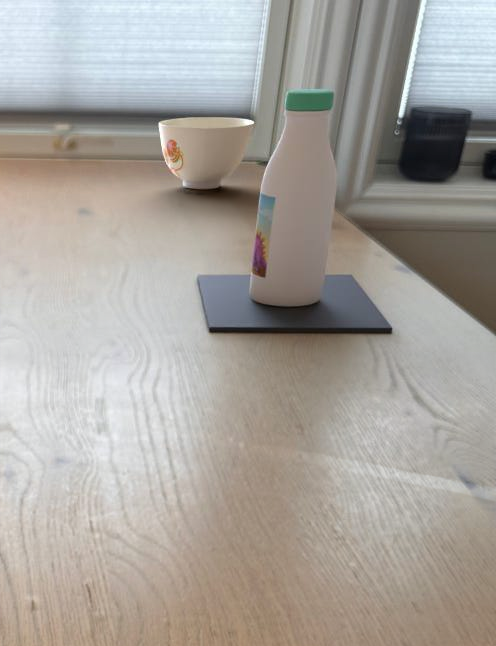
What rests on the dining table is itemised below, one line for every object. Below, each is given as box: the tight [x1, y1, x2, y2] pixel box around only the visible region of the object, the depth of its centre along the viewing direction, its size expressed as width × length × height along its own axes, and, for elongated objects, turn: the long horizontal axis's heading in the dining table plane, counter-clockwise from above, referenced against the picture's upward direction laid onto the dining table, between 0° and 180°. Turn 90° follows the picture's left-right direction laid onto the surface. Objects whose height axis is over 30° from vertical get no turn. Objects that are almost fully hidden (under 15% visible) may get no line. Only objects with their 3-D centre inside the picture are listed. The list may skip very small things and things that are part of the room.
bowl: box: [158, 116, 255, 190], centre depth 169 cm, size 16×16×10 cm
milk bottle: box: [250, 88, 338, 306], centre depth 101 cm, size 8×8×20 cm
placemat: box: [196, 274, 393, 334], centre depth 107 cm, size 22×18×1 cm
